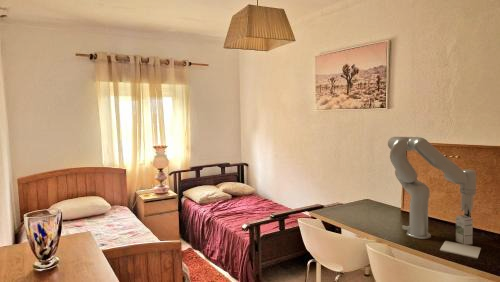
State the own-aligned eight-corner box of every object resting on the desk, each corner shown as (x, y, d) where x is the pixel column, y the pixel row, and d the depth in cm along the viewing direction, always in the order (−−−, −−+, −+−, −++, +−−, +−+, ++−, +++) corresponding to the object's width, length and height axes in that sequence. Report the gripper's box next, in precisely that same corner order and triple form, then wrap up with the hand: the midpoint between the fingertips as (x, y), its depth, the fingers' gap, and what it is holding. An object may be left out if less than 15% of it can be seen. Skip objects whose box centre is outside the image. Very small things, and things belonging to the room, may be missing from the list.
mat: (439, 250, 164) (439, 249, 164) (445, 241, 176) (445, 240, 176) (477, 258, 154) (477, 257, 154) (480, 248, 165) (480, 247, 165)
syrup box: (472, 244, 172) (473, 217, 171) (463, 245, 171) (464, 218, 170) (464, 240, 177) (464, 214, 176) (454, 241, 176) (455, 215, 175)
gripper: (461, 188, 190) (461, 218, 191) (458, 192, 178) (457, 224, 179) (477, 189, 185) (476, 220, 186) (474, 194, 174) (473, 227, 175)
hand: (467, 222), depth 183 cm, fingers closed
